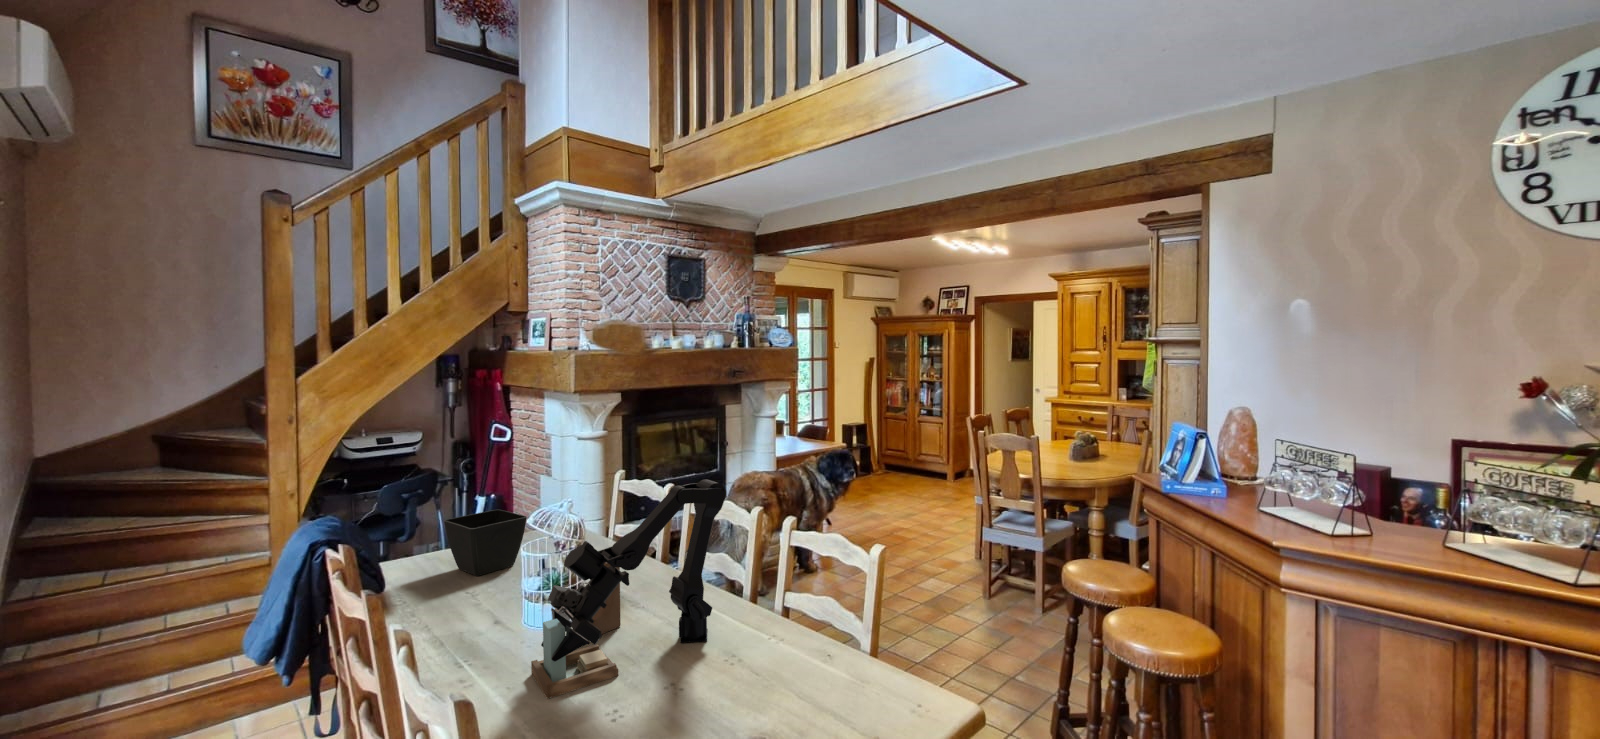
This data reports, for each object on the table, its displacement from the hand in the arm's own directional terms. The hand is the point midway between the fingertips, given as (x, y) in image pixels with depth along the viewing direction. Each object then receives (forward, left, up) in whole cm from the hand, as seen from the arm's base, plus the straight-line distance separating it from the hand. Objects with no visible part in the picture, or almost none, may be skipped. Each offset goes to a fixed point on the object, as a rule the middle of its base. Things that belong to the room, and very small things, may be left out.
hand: (547, 653), depth 134 cm
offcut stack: (-8, -5, -7) cm, 12 cm away
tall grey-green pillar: (-1, -1, -7) cm, 7 cm away
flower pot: (+40, -79, -7) cm, 89 cm away
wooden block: (-7, -25, -7) cm, 26 cm away
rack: (-5, -3, -7) cm, 9 cm away
